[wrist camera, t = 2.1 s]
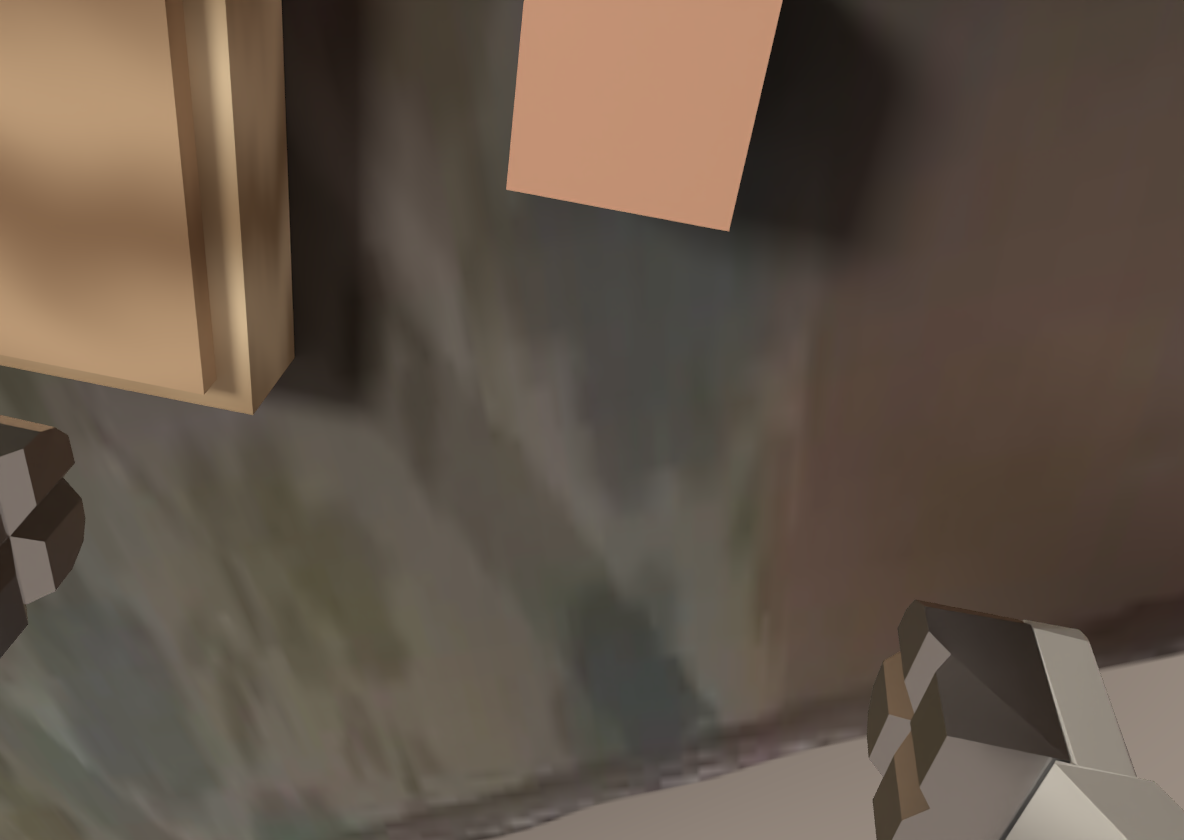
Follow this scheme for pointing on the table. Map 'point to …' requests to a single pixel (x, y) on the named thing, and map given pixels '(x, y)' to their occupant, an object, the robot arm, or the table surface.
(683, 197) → the cube
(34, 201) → the plinth
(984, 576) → the table surface
